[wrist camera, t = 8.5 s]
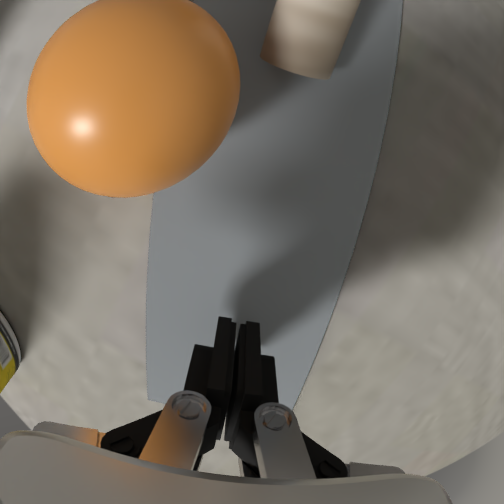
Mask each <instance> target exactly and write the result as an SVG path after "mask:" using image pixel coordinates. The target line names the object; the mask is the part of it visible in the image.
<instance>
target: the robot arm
mask: <svg viewBox="0 0 504 504" xmlns="http://www.w3.org/2000/svg"><path fill="white" fill-rule="evenodd" d="M235 337H236V323H235V322H232V318H227V317H221V316H219V317H218V323H217V329H216V335H215V341H214V347H209V346H204V345H198V344H195V345H194V348H193V352H192V356H191V360H190V365H189V369H188V373H187V377H186V381H185V385H184V390H183V391H179V392H176V393H174V394H173V395H171V396H170V398H169V399H168V401H167V403H166V405H165V407H164V409H163V410H161V411H158V412H156V413H154V414H151V415H149V416H146V417H144V418H142V419H139V420H137V421H134V422H131V423H129V424H126V425H124V426H121V427H118V428H116V429H113V430H111V431H109V432H107V433H100V432H98V430H97V429H89V428H83V427H76V426H70V425H65V424H59V423H54V422H46V421H44V422H41V423H38V424H37V425H36V426H35V427H34V429H33V431H27V430H24V431H15V432H10V433H8V434H6V435H5V436H3V437H2V438H1V439H0V504H452V501H451V499H450V498H449V496H448V494H447V492H446V491H445V489H444V488H443V487H442V485H441V484H440V483H438V482H437V481H435V480H433V479H431V478H428V477H424V476H419V475H413V474H405V473H404V471H403V470H401V469H400V468H398V467H394V466H383V465H372V464H363V463H355V462H350V463H349V464H344V462H342V461H341V460H340V459H339V458H338V457H336V456H335V455H333V454H332V453H330V452H329V451H327V450H326V449H324V448H323V447H322V446H320V445H319V444H317V443H316V442H315V441H313V440H312V439H310V438H309V437H308V436H306V435H305V434H304V433H302V432H301V430H300V427H299V424H298V421H297V418H296V416H295V414H294V412H293V411H292V410H291V409H290V408H288V407H287V406H285V405H283V404H280V403H279V399H278V388H277V377H276V367H275V358H274V356H268V355H261V339H260V323H258V322H251V321H246V323H245V324H240V328H239V332H238V337H237V341H236V346H235ZM225 417H226V424H225V437H224V440H225V441H229V449H232V451H233V452H234V453H235V454H236V455H237V456H238V457H239V459H238V463H239V469H240V476H241V477H238V476H228V475H220V474H212V473H205V472H199V468H200V465H201V462H202V459H203V454H205V453H207V452H208V451H210V450H212V449H213V448H214V446H215V442H216V440H220V438H221V434H222V430H223V426H224V422H225Z"/></svg>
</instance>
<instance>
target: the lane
mask: <svg viewBox="0 0 504 504" xmlns="http://www.w3.org/2000/svg"><path fill="white" fill-rule="evenodd" d="M276 1H277V0H193V3H195V4H197V5H198V6H200V7H201V8H203V9H204V10H205V11H207V12H208V13H209V14H210V15H211V16H212V17H213V18H214V19H215V20H217V22H218V23H219V24H220V25H221V27H222V28H223V29H224V31H225V32H226V34H227V36H228V37H229V39H230V41H231V43H232V45H233V48H234V50H235V53H236V56H237V61H238V65H239V70H240V94H239V102H238V106H237V110H236V114H235V117H234V120H233V122H232V124H231V127H230V129H229V131H228V133H227V135H226V137H225V138H224V140H223V142H222V143H221V145H220V146H219V147H218V149H217V150H216V151H215V152H214V154H213V155H212V156H211V157H210V158H209V159H208V160H207V161H206V162H205V163H204V164H203V165H202V166H201V167H200V168H199V169H198V170H196V171H195V172H194V173H192V174H191V175H190V176H188V177H187V178H185V179H184V180H182V181H180V182H178V183H176V184H175V185H173V186H171V187H169V188H166V189H163V190H161V191H158V192H155V193H154V195H153V205H152V215H151V226H150V238H149V252H148V269H147V293H146V370H147V393H148V400H151V401H155V402H159V403H164V404H166V403H167V401H168V399H169V398H170V396H171V395H173V394H174V393H176V392H179V391H183V390H184V385H185V381H186V377H187V373H188V369H189V365H190V360H191V356H192V352H193V348H194V345H195V344H198V345H204V346H209V347H214V341H215V335H216V329H217V323H218V317H219V316H221V317H227V318H232V322H235V323H236V337H235V346H236V341H237V337H238V332H239V328H240V324H245V323H246V321H251V322H258V323H260V339H261V355H268V356H274V358H275V367H276V377H277V388H278V399H279V403H280V404H283V405H285V406H287V407H288V408H290V409H291V410H292V409H293V407H294V405H295V403H296V400H297V398H298V396H299V394H300V392H301V389H302V387H303V385H304V382H305V380H306V378H307V376H308V373H309V371H310V368H311V366H312V364H313V361H314V359H315V356H316V354H317V351H318V349H319V346H320V344H321V341H322V339H323V336H324V334H325V331H326V329H327V326H328V323H329V321H330V318H331V315H332V313H333V310H334V307H335V304H336V301H337V299H338V296H339V293H340V290H341V287H342V284H343V281H344V278H345V275H346V272H347V269H348V266H349V263H350V260H351V257H352V254H353V251H354V247H355V244H356V241H357V238H358V234H359V231H360V227H361V224H362V221H363V217H364V213H365V210H366V206H367V203H368V199H369V195H370V191H371V187H372V183H373V179H374V175H375V171H376V167H377V163H378V159H379V154H380V150H381V145H382V141H383V136H384V131H385V126H386V121H387V116H388V111H389V106H390V100H391V94H392V88H393V82H394V76H395V69H396V62H397V54H398V46H399V38H400V28H401V18H402V5H403V0H361V1H360V4H359V6H358V9H357V11H356V14H355V17H354V19H353V22H352V24H351V27H350V29H349V32H348V34H347V37H346V39H345V42H344V44H343V47H342V49H341V52H340V54H339V57H338V59H337V62H336V64H335V67H334V69H333V72H332V74H331V77H330V79H327V80H321V79H315V78H310V77H306V76H302V75H299V74H296V73H292V72H289V71H287V70H284V69H281V68H279V67H276V66H274V65H272V64H270V63H268V62H266V61H264V60H263V59H262V58H261V57H260V53H261V50H262V46H263V43H264V40H265V36H266V33H267V30H268V26H269V23H270V20H271V17H272V13H273V10H274V7H275V4H276Z"/></svg>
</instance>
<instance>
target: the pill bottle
mask: <svg viewBox="0 0 504 504" xmlns="http://www.w3.org/2000/svg"><path fill="white" fill-rule="evenodd" d="M20 361H21V353H20V348H19V344H18V341H17V339H16V336H15V334H14V332H13V330H12V328H11V327H10V325H9V323H8V321H7V320H6V319H5V317H4V316H3V314H2V313H1V312H0V393H1V392H2V390H3V389H4V387H5V386H6V385H7V383H8V382H9V380H10V379H11V378H12V376H13V375H14V374H15V372H16V371H17V369H18V368H19V365H20Z"/></svg>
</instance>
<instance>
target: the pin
mask: <svg viewBox="0 0 504 504" xmlns="http://www.w3.org/2000/svg"><path fill="white" fill-rule="evenodd" d="M360 1H361V0H277V1H276V4H275V7H274V10H273V13H272V17H271V20H270V23H269V26H268V30H267V33H266V36H265V40H264V43H263V46H262V50H261V53H260V57H261V58H262V59H263V60H264V61H266V62H268V63H270V64H272V65H274V66H276V67H279V68H281V69H284V70H287V71H289V72H292V73H296V74H299V75H302V76H306V77H310V78H315V79H321V80H327V79H330V77H331V74H332V72H333V69H334V67H335V64H336V62H337V59H338V57H339V54H340V52H341V49H342V47H343V44H344V42H345V39H346V37H347V34H348V32H349V29H350V27H351V24H352V22H353V19H354V17H355V14H356V11H357V9H358V6H359V4H360Z"/></svg>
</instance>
